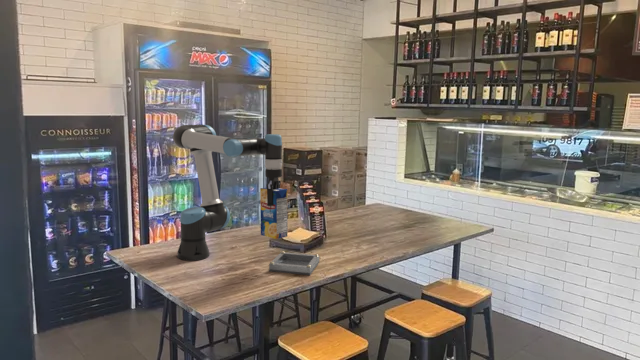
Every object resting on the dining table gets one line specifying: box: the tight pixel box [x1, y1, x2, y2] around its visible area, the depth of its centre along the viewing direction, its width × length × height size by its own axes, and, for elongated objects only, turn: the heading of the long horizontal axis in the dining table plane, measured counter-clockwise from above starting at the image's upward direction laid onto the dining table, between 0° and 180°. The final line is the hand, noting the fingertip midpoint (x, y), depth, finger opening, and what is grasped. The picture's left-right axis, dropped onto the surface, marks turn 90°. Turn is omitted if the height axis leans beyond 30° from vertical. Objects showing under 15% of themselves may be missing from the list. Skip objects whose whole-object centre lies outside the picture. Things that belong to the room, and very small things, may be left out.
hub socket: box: [268, 250, 320, 276], centre depth 227 cm, size 19×19×4 cm
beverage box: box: [259, 186, 288, 240], centre depth 225 cm, size 7×11×22 cm, turn 48°
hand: (274, 218), depth 225 cm, fingers open, 4 cm apart
